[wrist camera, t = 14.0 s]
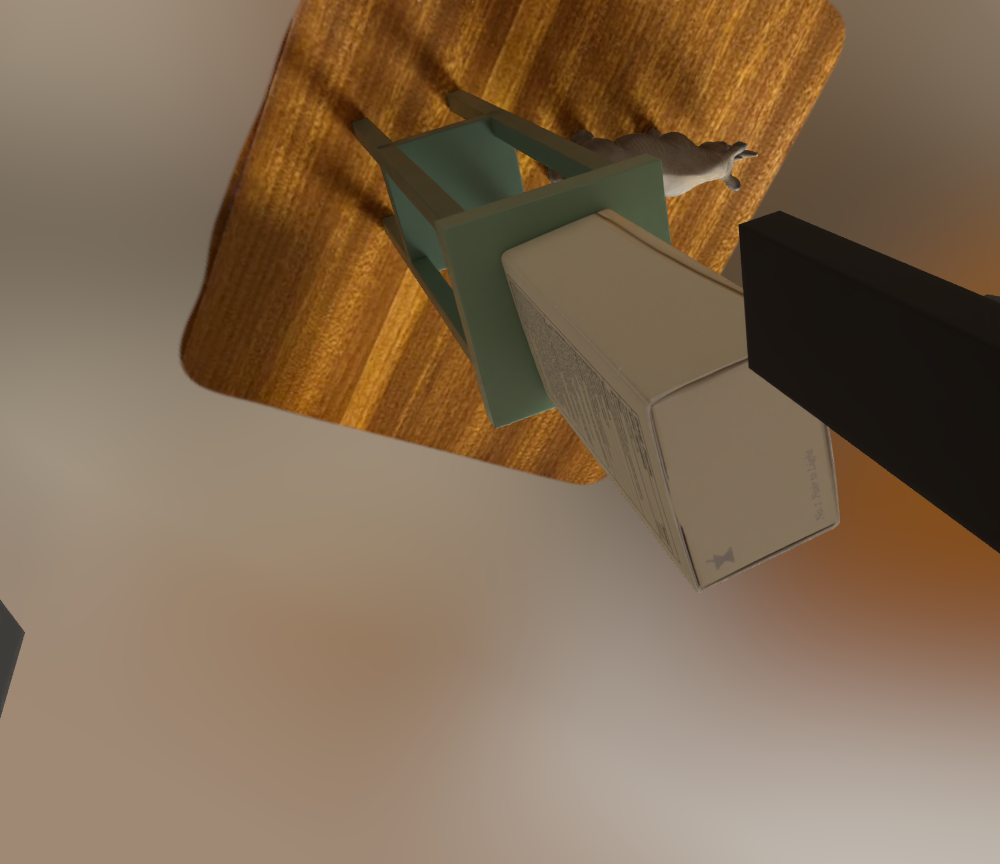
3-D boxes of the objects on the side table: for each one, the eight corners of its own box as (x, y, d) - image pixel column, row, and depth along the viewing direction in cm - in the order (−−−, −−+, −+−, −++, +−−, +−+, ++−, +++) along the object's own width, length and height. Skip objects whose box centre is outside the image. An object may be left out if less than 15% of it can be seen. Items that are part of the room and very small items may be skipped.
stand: (385, 233, 53) (500, 407, 32) (351, 122, 49) (455, 234, 28) (487, 200, 54) (665, 348, 33) (461, 89, 50) (642, 174, 29)
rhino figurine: (728, 180, 58) (777, 200, 53) (544, 193, 55) (578, 215, 50) (736, 119, 56) (788, 133, 51) (546, 128, 53) (581, 144, 48)
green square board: (486, 415, 32) (495, 429, 31) (433, 220, 28) (441, 229, 27) (671, 349, 34) (685, 361, 33) (646, 152, 29) (661, 158, 28)
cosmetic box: (645, 352, 32) (848, 530, 22) (541, 399, 31) (697, 603, 21) (607, 198, 28) (826, 324, 18) (489, 249, 28) (645, 406, 18)
